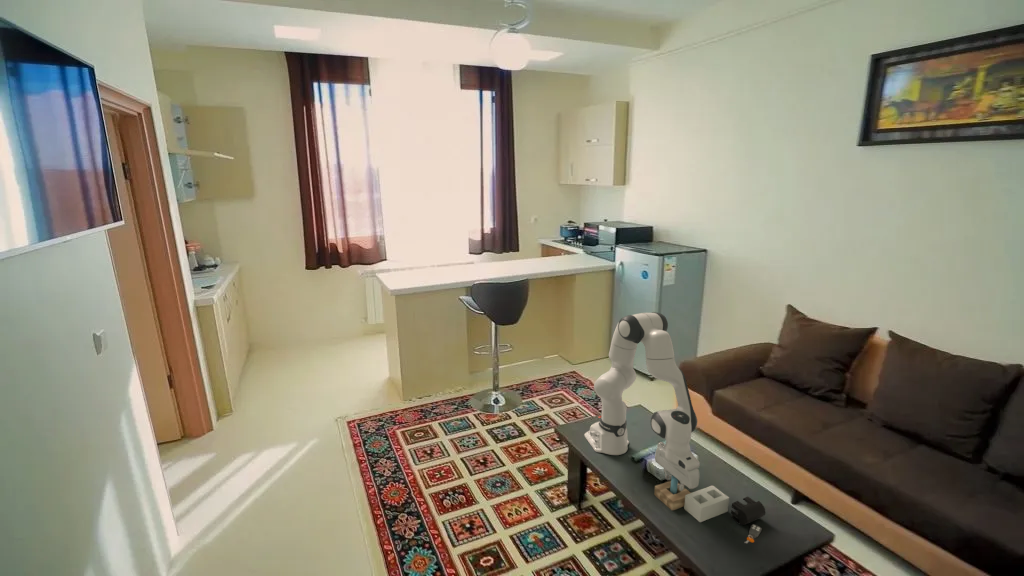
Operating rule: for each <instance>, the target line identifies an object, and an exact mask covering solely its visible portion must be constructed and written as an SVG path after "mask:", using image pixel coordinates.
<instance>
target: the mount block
mask: <svg viewBox="0 0 1024 576" xmlns="http://www.w3.org/2000/svg"><path fill="white" fill-rule="evenodd" d="M680 484H681V483H680V482H678V485H680ZM670 488H671V480H669V481H665V482H664V483H660V484H656V485H654V494H653V495H654V496H655V497H656V498H657V499H659V501H660V502H662V503H663V504H664V505H665V506H666V507H667V508H668V509H669V510H671V511H676V510H678V509H681V508H684V505H685V495H687V494H690V493H691V492H690V490H688V489H687V488H685V487H684V489H683V490H682V491H680V490H679V489H678V486H677V494H674V495H673V494H672V493H671V492H670Z"/></svg>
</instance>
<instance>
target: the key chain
mask: <svg viewBox="0 0 1024 576" xmlns="http://www.w3.org/2000/svg"><path fill="white" fill-rule="evenodd" d="M749 527H750V528H749V531H748V535H747V537H746V541H744V544H748V543H755V539H756V538H758V537H759V535H760V534H761V532H762V526H759V525H758V524H754V523H751V525H750V526H749Z"/></svg>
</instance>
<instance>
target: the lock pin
mask: <svg viewBox="0 0 1024 576" xmlns="http://www.w3.org/2000/svg"><path fill="white" fill-rule="evenodd" d="M670 481H671V488H670V492H671V493H672V494H673V495H674V494H677V486H678V483H679V480H678V479H677V478H675V477H674V476H673V475H672V474H671V480H670Z"/></svg>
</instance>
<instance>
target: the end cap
mask: <svg viewBox="0 0 1024 576" xmlns="http://www.w3.org/2000/svg"><path fill="white" fill-rule="evenodd" d="M742 500H743V501H744V502H746V504H745V503H744V504H743V503H741V502H740V501H739V500H737V501H734V502H732V503H731V508H732V509H733V510H730V514H731V516H730V518H731V519H732V520H733V521H735V522H736V523H737V524H738V525H740V526H746V525H748V524H750V523H753V522H754V521H756V520H759V519H762V518H763V517H765V515H766V507H765V506H764V504H763V503H762V502H760V500H758V501H755V500H754V499H752V498H751V497H750V496H746V497H743V498H742Z"/></svg>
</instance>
